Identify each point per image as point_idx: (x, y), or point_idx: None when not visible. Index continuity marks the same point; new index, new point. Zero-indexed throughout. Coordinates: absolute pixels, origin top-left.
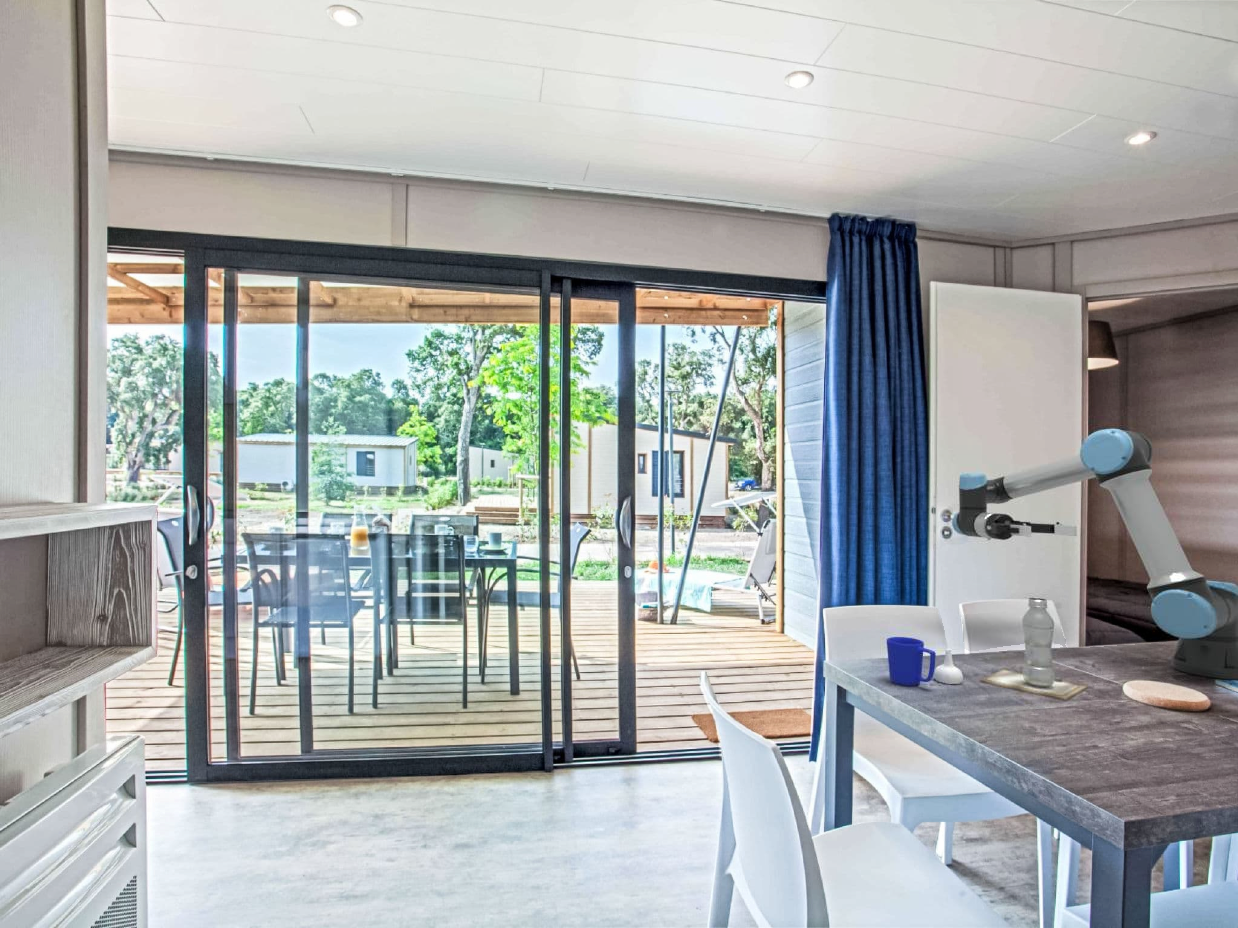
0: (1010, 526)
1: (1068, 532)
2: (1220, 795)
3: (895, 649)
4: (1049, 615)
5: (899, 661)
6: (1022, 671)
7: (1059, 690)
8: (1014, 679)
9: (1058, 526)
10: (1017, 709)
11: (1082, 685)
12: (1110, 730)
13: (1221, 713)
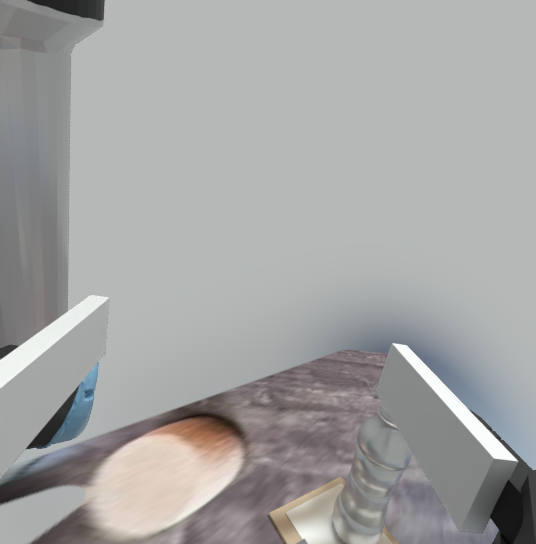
0: (511, 472)
1: (87, 358)
2: (342, 352)
3: None
4: (373, 416)
5: None
6: (382, 533)
7: (332, 501)
8: None
9: (31, 378)
10: (414, 470)
11: (272, 519)
12: (344, 410)
13: (193, 406)
